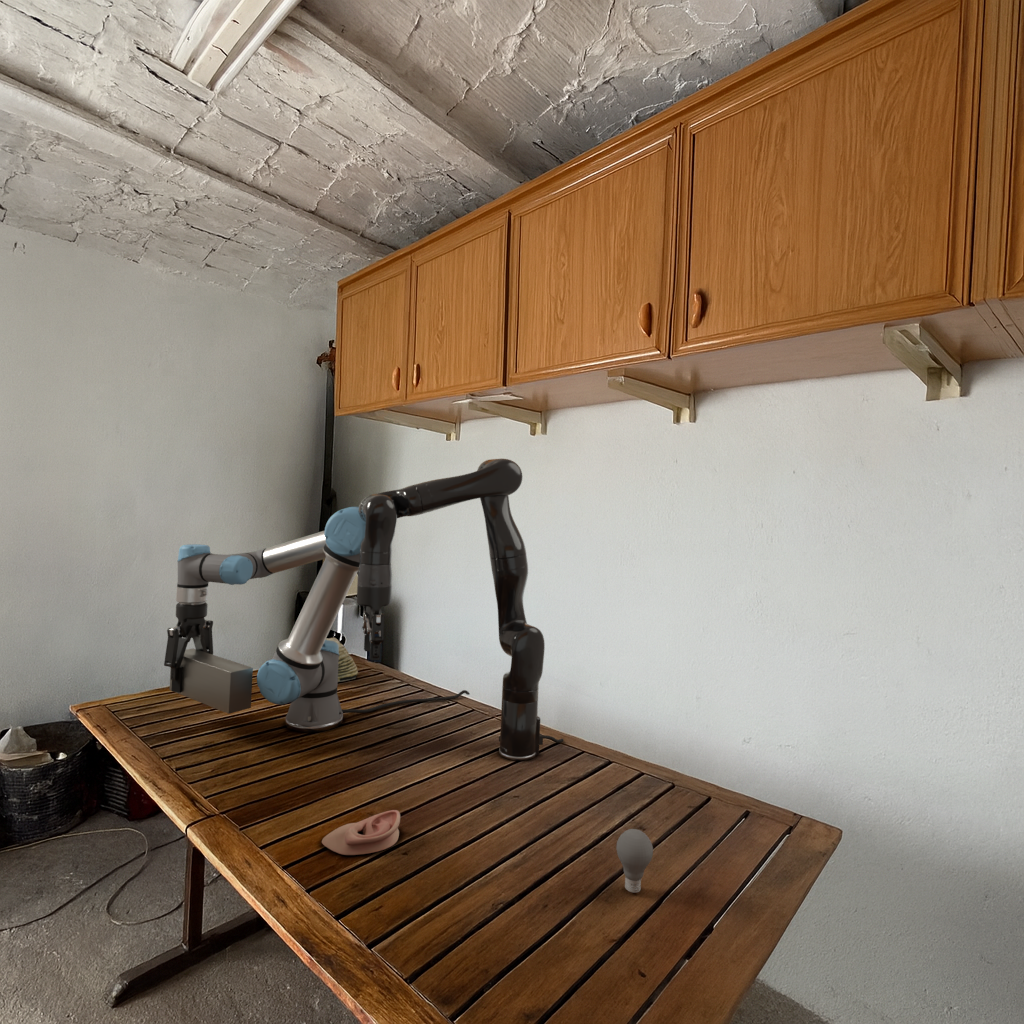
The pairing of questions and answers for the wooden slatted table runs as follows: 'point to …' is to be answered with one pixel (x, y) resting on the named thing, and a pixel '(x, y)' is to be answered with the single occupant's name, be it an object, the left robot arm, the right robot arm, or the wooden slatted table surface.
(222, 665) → the box
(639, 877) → the light bulb
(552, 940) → the wooden slatted table surface
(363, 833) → the anatomical model
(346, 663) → the fossil
